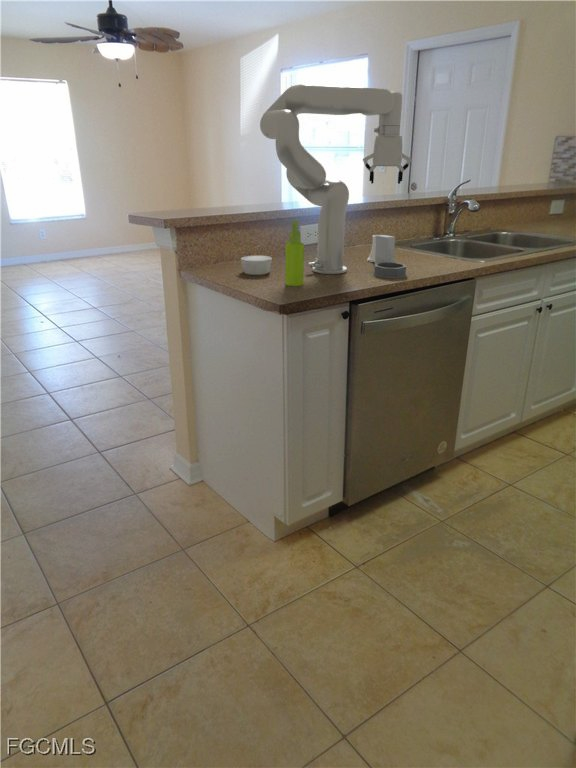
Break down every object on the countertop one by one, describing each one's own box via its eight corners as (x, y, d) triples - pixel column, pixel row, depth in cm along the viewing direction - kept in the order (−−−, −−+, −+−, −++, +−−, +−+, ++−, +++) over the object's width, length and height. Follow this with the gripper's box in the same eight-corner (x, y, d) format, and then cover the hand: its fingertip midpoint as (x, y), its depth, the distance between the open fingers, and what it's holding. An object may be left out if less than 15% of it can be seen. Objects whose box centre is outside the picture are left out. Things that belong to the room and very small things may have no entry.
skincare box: (393, 269, 205) (396, 236, 200) (385, 271, 202) (388, 237, 197) (381, 266, 209) (383, 234, 204) (373, 268, 207) (375, 235, 202)
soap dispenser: (302, 281, 186) (303, 220, 178) (303, 286, 180) (304, 223, 172) (285, 281, 186) (285, 220, 178) (285, 286, 180) (286, 222, 172)
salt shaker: (371, 258, 224) (373, 233, 220) (389, 260, 221) (391, 235, 217) (364, 261, 218) (366, 236, 214) (382, 263, 215) (384, 237, 211)
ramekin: (237, 270, 202) (237, 256, 200) (266, 268, 205) (266, 254, 203) (246, 276, 192) (245, 261, 190) (276, 274, 196) (276, 259, 194)
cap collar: (390, 279, 189) (391, 270, 187) (366, 274, 197) (367, 264, 196) (412, 275, 195) (413, 266, 194) (388, 270, 204) (389, 260, 202)
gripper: (364, 131, 190) (361, 184, 197) (415, 131, 188) (410, 184, 195) (364, 132, 197) (361, 182, 204) (413, 131, 195) (408, 182, 202)
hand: (385, 183), depth 200 cm, fingers open, 9 cm apart
